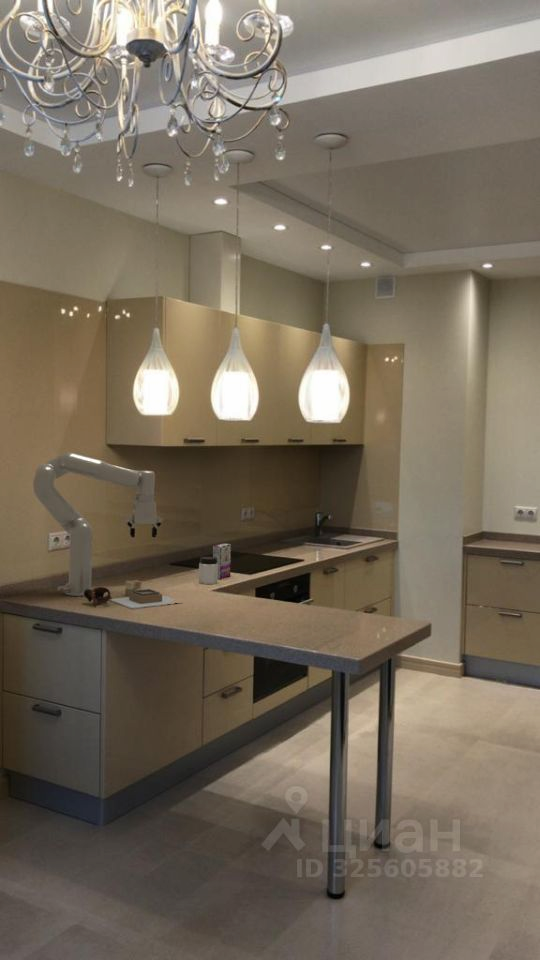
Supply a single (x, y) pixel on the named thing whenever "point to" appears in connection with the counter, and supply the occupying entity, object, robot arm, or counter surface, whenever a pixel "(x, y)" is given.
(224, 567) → the candy bar box
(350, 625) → the counter surface
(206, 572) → the jar
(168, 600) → the base
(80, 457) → the robot arm
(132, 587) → the maple block
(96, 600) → the brown animal figurine
